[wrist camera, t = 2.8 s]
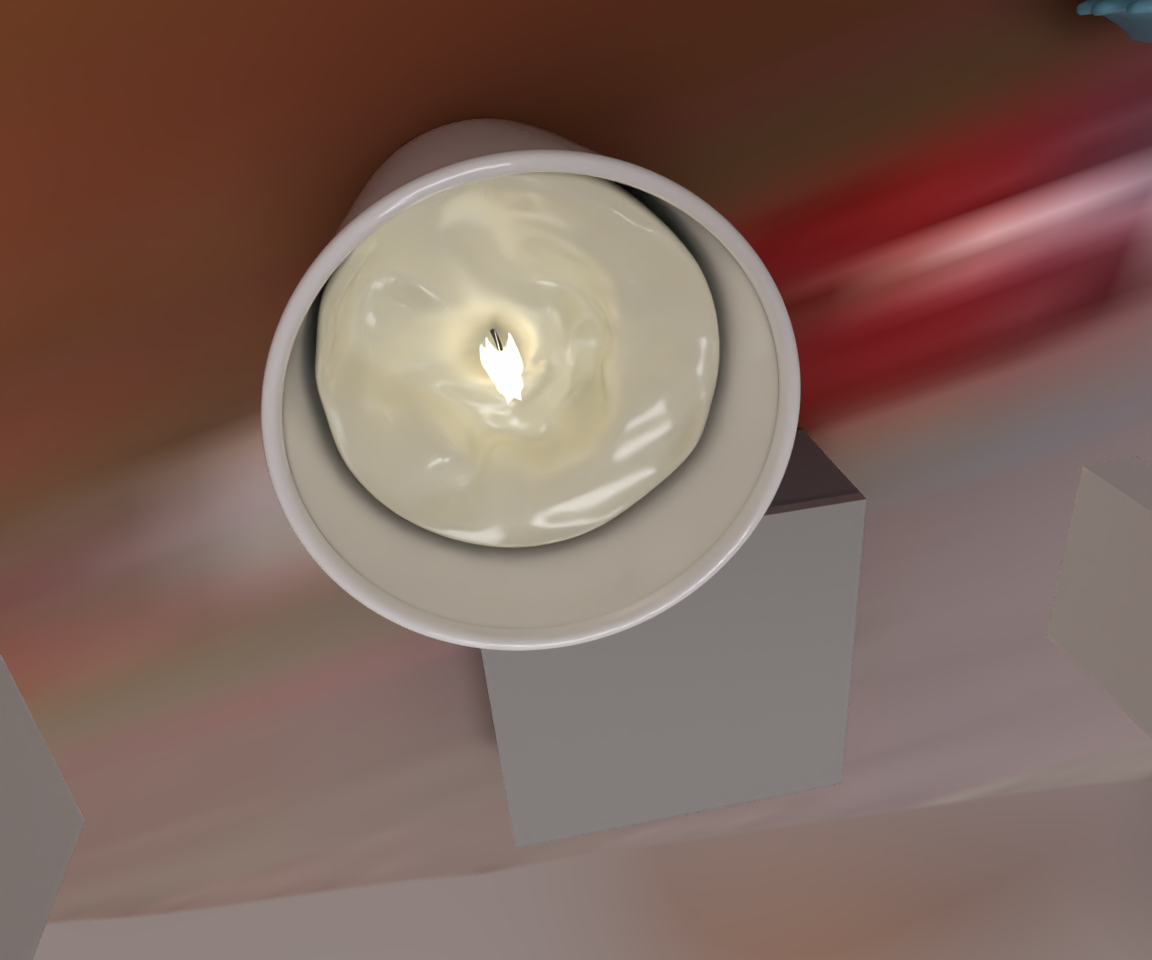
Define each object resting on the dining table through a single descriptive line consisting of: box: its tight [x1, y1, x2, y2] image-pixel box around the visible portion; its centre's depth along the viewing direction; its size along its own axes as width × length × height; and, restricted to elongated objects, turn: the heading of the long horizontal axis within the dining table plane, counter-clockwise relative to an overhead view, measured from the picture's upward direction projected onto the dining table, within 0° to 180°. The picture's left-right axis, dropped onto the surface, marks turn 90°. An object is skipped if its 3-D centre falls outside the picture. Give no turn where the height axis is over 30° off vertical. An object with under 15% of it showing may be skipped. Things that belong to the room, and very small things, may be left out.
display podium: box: [481, 429, 866, 848], centre depth 31 cm, size 12×12×5 cm
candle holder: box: [261, 119, 801, 651], centre depth 21 cm, size 10×10×12 cm
